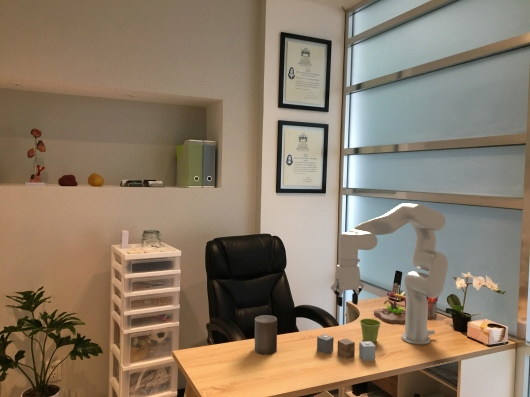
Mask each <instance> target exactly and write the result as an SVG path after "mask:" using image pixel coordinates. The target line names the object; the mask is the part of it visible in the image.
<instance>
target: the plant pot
mask: <svg viewBox="0 0 530 397" xmlns="http://www.w3.org/2000/svg"><path fill="white" fill-rule="evenodd" d="M381 322H382V321H379V320H378V319H375V318H362V319H359V323H360V326H361V333H362V334H361V335H362V341H371V342H372V343H373V344H374V343H377V342H378V340H377V339H378V335H379V330H380V326H381V325H382V323H381Z"/></svg>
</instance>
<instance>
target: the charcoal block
mask: <svg viewBox="0 0 530 397" xmlns="http://www.w3.org/2000/svg"><path fill="white" fill-rule="evenodd" d="M316 351H317V352H320V353H322V354H325V355H328V354H329V353H332V352H334V336H332V335H328V334H325V333H323V334H321V335H319V336H317V338H316Z"/></svg>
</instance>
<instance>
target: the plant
mask: <svg viewBox="0 0 530 397" xmlns="http://www.w3.org/2000/svg"><path fill="white" fill-rule="evenodd" d="M397 300H398V301H401V300H402V299H401V297H400V296H396V297H395V299H394V302H393V301H391V300H385V301H384V302H383V304H384V305H385V307H386V308H378V309H374V310H373V316H374V317H376V318H378V319H380V320H381V322H384V323H387V324H391V325H394V324H400V325H405V316H406V306H403V307H400V304H399V303H397ZM387 303H390V304H389V305H388V304H387Z"/></svg>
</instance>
